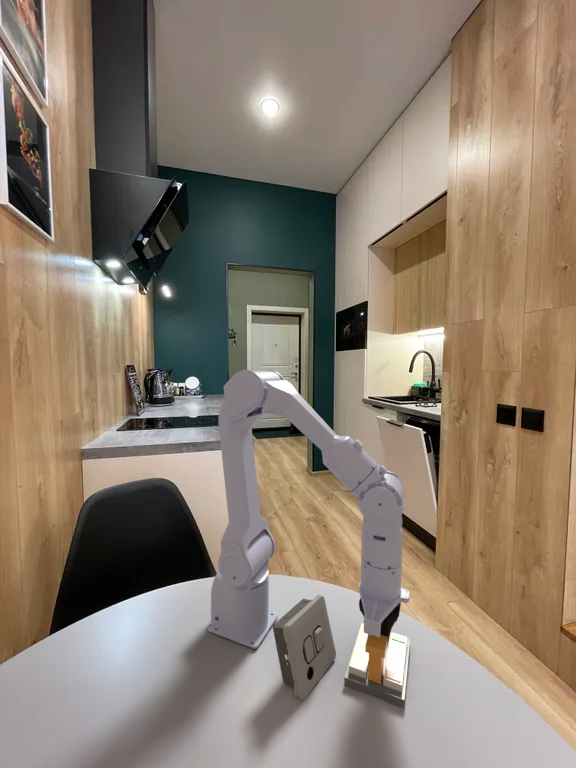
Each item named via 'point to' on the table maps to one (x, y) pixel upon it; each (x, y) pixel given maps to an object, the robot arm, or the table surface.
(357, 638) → the breaker base
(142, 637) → the table surface
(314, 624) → the electrical switch
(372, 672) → the breaker handle
